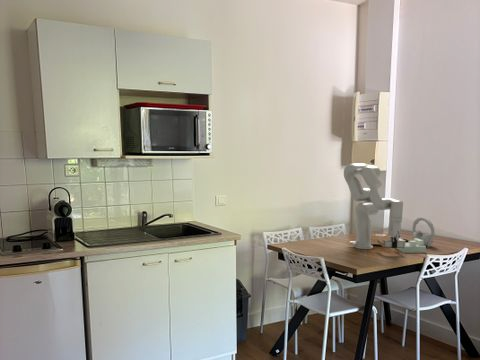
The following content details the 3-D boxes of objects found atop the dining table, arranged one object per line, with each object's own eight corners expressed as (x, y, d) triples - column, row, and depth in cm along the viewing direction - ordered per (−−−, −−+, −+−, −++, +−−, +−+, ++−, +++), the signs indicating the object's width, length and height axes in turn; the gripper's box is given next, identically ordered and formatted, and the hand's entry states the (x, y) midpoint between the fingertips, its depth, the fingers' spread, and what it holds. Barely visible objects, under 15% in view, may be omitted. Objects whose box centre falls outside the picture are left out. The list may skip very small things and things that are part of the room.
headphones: (437, 247, 268) (438, 219, 266) (428, 248, 265) (428, 220, 264) (417, 242, 286) (418, 215, 285) (408, 242, 283) (409, 216, 282)
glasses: (377, 242, 261) (377, 235, 261) (396, 242, 261) (397, 236, 260) (383, 247, 249) (384, 240, 248) (404, 248, 248) (404, 241, 248)
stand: (395, 248, 267) (396, 238, 267) (417, 248, 267) (417, 238, 266) (402, 252, 255) (403, 242, 255) (425, 252, 255) (425, 242, 254)
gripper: (385, 216, 255) (383, 243, 257) (394, 221, 239) (392, 250, 242) (396, 216, 255) (394, 244, 257) (406, 222, 239) (404, 250, 241)
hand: (393, 247), depth 249 cm, fingers closed on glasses
